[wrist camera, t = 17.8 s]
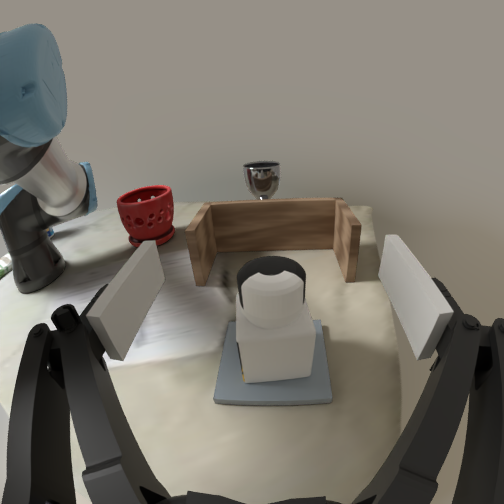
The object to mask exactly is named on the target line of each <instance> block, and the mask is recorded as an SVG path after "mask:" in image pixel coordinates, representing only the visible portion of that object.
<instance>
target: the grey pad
mask: <svg viewBox="0 0 504 504" xmlns="http://www.w3.org/2000/svg"><path fill="white" fill-rule="evenodd" d="M313 323H314V326H315V330H316V338H315V346H314V354H313V362H312V369H311V375H310V376H308V377H302V378H295V379H287V380H278V381H268V382H257V383H245V382H244V381H243V376H242V371H241V365H240V359H239V354H238V348H237V342H236V322H228V327H227V332H226V337H225V342H224V347H223V352H222V357H221V362H220V367H219V372H218V377H217V382H216V388H215V393H214V398H213V399H214V402H215V403H218V404H233V405H306V404H321V403H331V401H332V391H331V384H330V376H329V369H328V363H327V356H326V350H325V343H324V337H323V331H322V325H321V320H313Z"/></svg>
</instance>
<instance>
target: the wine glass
mask: <svg viewBox="0 0 504 504" xmlns="http://www.w3.org/2000/svg"><path fill="white" fill-rule="evenodd" d="M243 171H244V178H245V183H246V186H247V188H248V190H249V192H250V193H251V194H252V195H253V196H254V197H255V198H256V199H257V200H262V199H271V197H272V196H273V195H274V194H275V192H276V191H277V190H278V187H279V183H280V176H281V175H280V174H281V168H280V163H279V162H275V161H258V162H251V163H247V164H244V165H243Z"/></svg>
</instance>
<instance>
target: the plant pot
mask: <svg viewBox="0 0 504 504" xmlns="http://www.w3.org/2000/svg"><path fill="white" fill-rule="evenodd" d="M151 196H155V198H153V199H151ZM138 199H141V202H138V201H137V200H138ZM117 207H118V211H119V214H120V218H121V221H122V223H123V225H124V227H125V229H126V231H127V232H128V233H129V234H130V236H129V242H130V243H131V244H132V245H133V246H135V247H139V246H140V245H141V244H142V243H143V241H153V240H155V242H156V246H158V245H161V244H163V243H165V242H167V241H168V240H169V239H170V238H171V237H172V236H173V234H174V232H175V228H174V226H173V225H172V221H173V214H174V205H173V196H172V191H171V188H170V187H168V186H164V185H155V186H147V187H142V188H139V189H136V190H132V191H130V192H128V193H126V194H124V195H122V196H121V197H119V198H118V200H117Z"/></svg>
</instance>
